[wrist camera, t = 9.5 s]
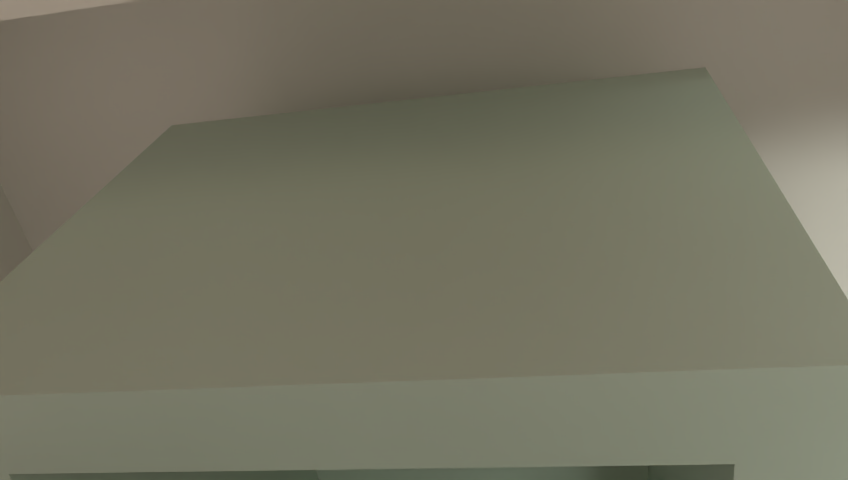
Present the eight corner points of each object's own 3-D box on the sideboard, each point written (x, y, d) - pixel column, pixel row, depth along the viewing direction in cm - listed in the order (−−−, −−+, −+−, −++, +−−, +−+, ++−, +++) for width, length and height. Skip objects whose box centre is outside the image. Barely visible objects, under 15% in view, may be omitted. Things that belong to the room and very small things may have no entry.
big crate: (-124, -64, 12) (-444, 3, 8) (1137, -285, 9) (1628, -351, 5) (178, 562, 19) (87, 756, 15) (919, 570, 16) (1043, 819, 12)
